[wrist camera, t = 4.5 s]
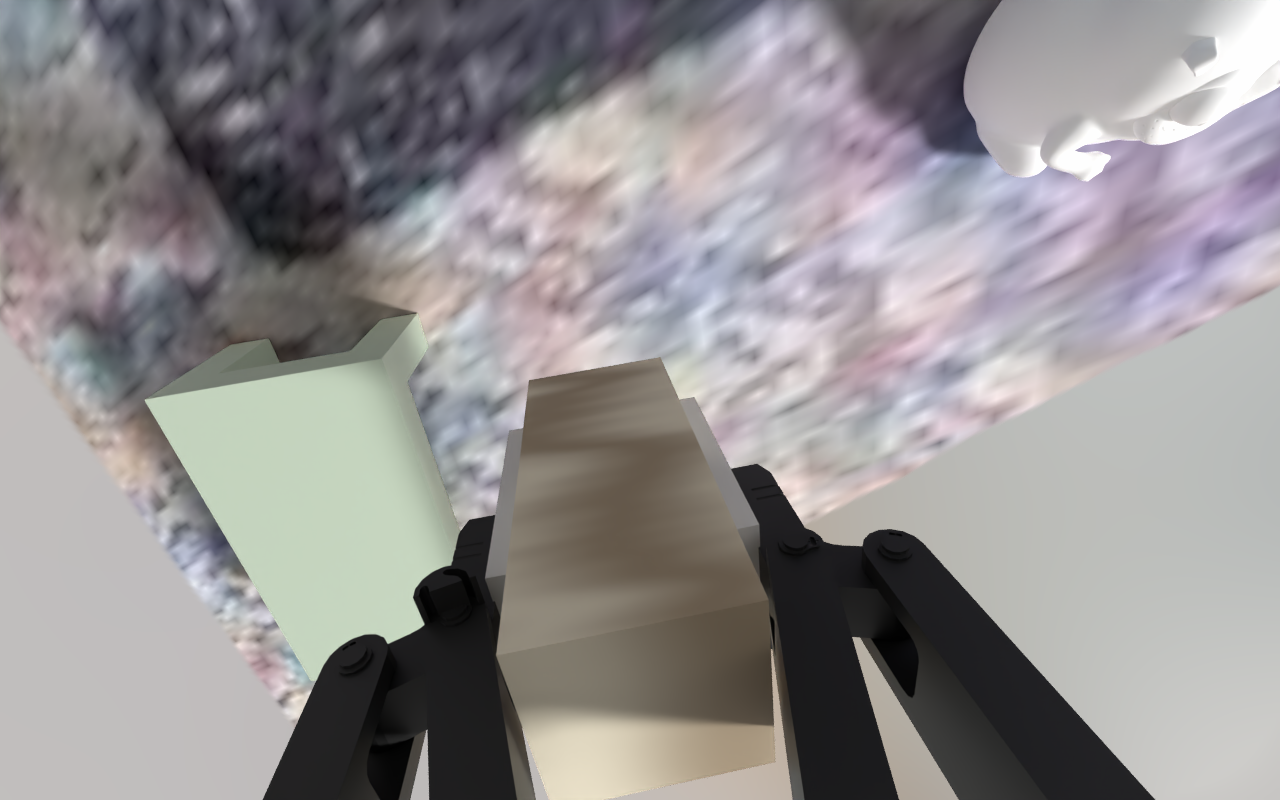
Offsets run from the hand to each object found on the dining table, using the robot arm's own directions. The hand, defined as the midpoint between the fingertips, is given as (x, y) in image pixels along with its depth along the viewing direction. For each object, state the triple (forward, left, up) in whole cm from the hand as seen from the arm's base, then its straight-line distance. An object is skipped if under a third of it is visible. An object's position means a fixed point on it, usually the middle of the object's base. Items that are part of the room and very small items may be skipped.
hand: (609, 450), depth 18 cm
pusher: (+7, 0, -2) cm, 7 cm away
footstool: (+7, -14, -15) cm, 22 cm away
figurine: (-10, +25, -15) cm, 31 cm away
